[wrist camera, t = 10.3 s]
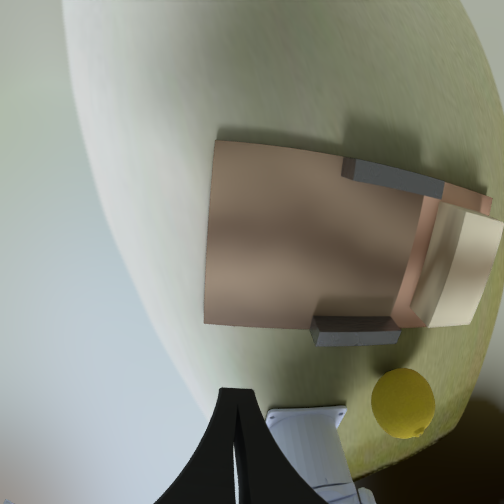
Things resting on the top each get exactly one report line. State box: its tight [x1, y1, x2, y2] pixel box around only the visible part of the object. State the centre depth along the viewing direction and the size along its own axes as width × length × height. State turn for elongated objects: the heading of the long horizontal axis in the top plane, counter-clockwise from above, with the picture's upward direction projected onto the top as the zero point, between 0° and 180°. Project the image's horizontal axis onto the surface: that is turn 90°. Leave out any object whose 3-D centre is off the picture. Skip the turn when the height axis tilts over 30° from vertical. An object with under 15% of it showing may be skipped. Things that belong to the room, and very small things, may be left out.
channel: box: [310, 157, 445, 346], centre depth 17 cm, size 12×6×2 cm, turn 174°
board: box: [204, 140, 493, 329], centre depth 19 cm, size 12×22×1 cm, turn 84°
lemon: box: [371, 368, 435, 438], centre depth 20 cm, size 6×6×8 cm
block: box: [410, 201, 504, 328], centre depth 17 cm, size 8×5×3 cm, turn 174°
